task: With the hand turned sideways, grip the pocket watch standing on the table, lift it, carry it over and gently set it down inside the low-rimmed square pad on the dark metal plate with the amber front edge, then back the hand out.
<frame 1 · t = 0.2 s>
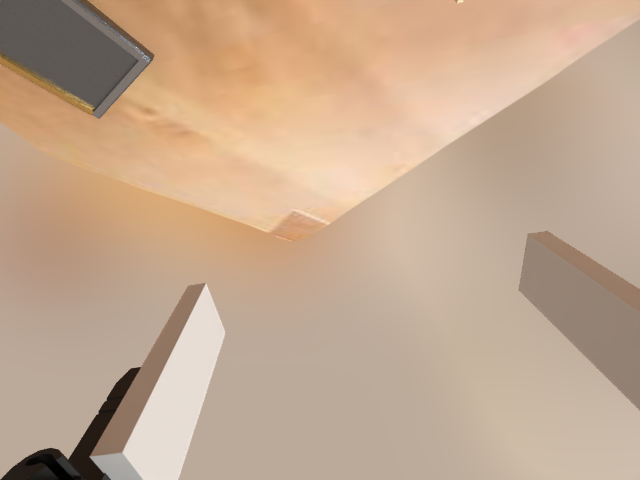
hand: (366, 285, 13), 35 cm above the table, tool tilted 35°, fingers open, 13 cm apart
pocket plate: (66, 46, 36), on the table
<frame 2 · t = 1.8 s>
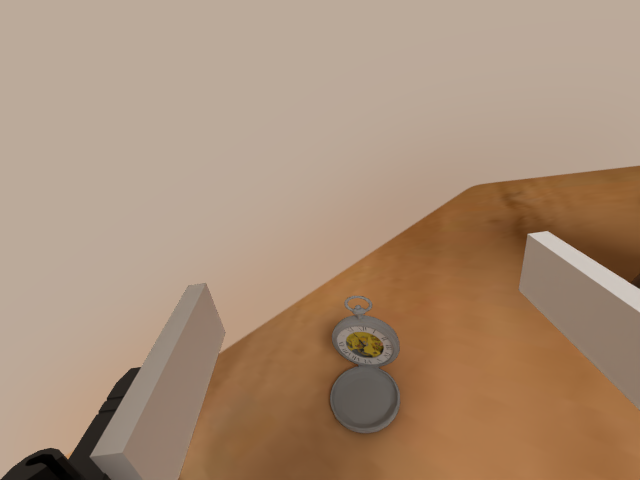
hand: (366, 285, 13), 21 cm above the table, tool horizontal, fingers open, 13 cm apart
pocket watch: (369, 391, 32), on the table
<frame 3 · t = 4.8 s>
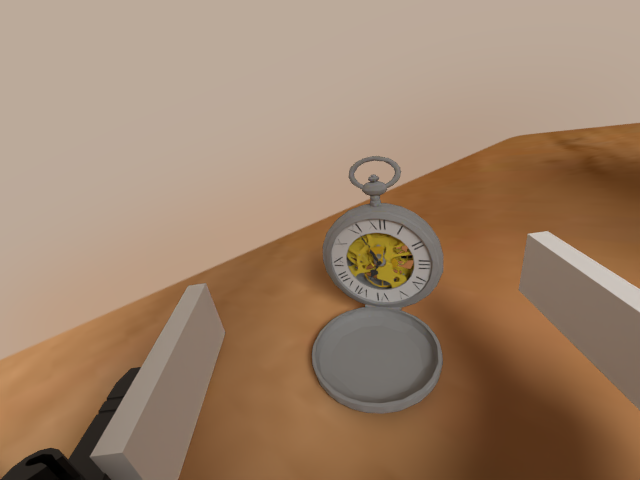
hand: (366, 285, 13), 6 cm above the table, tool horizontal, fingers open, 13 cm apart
pocket watch: (382, 347, 18), on the table
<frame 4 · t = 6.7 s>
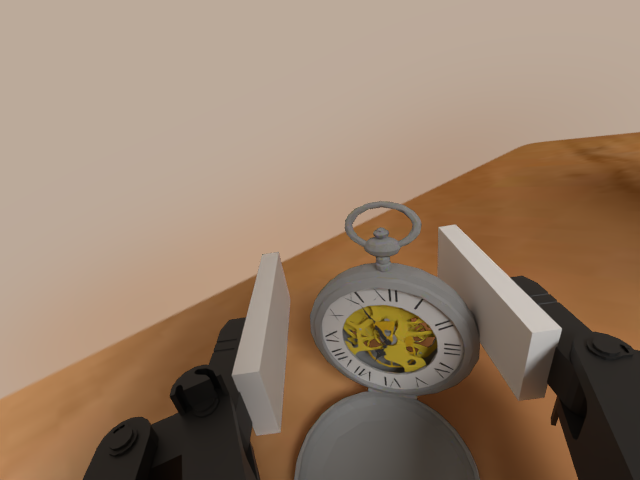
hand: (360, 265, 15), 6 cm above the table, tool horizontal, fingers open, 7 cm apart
pocket watch: (392, 456, 13), on the table, touching gripper
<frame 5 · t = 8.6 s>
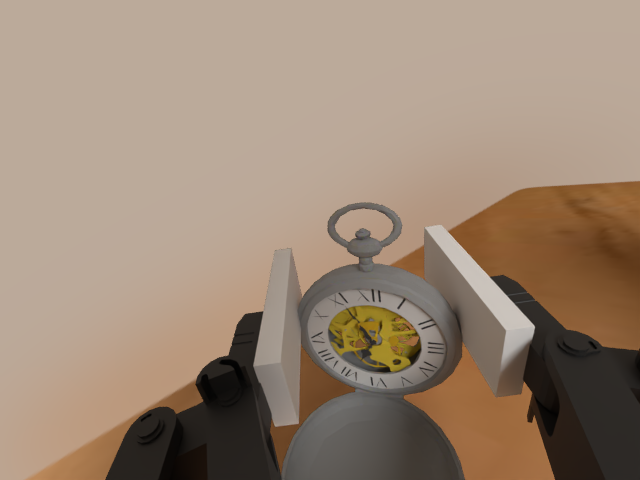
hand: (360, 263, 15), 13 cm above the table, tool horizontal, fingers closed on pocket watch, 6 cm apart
pocket watch: (379, 456, 13), point 7 cm above the table, touching gripper
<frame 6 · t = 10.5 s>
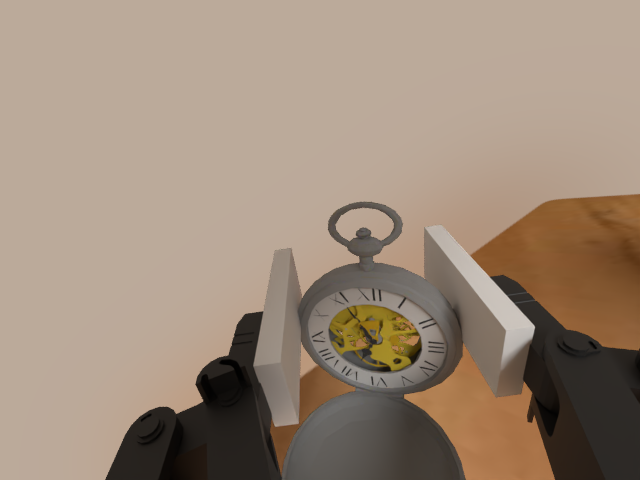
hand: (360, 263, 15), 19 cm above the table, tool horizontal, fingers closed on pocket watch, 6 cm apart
pocket watch: (379, 455, 13), point 13 cm above the table, touching gripper
when the fingers open (7 cm above the table, at t = 13.9 s): pocket watch stays where it is, resting on pocket plate.
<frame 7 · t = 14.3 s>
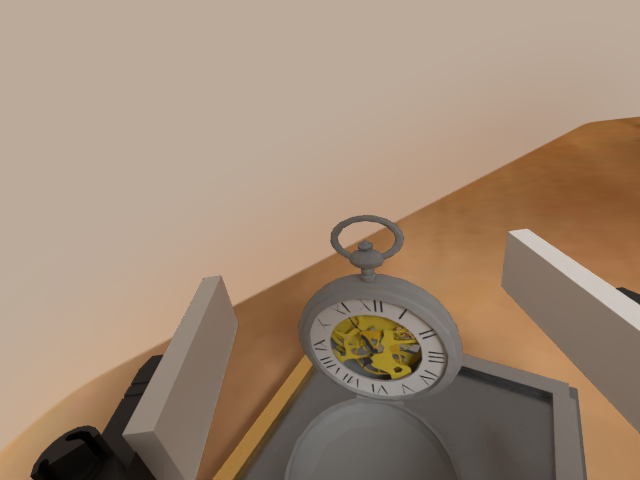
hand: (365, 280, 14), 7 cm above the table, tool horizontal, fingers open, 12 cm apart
pocket plate: (394, 471, 14), on the table
pocket watch: (379, 462, 13), point 1 cm above the table, touching pocket plate
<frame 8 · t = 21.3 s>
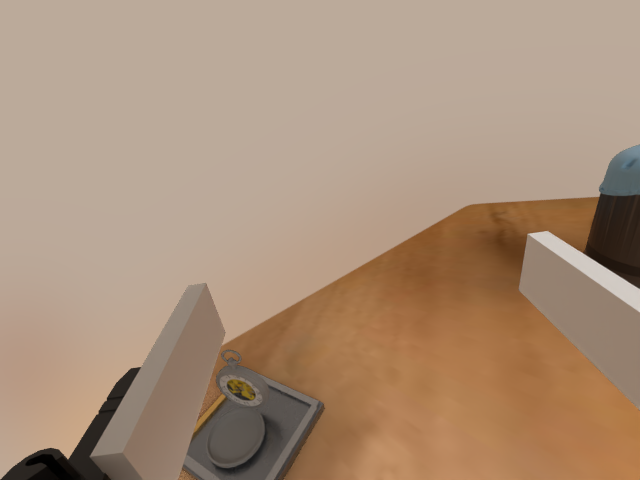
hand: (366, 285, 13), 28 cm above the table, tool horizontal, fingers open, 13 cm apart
pocket plate: (250, 433, 37), on the table
pocket watch: (244, 430, 37), point 1 cm above the table, touching pocket plate
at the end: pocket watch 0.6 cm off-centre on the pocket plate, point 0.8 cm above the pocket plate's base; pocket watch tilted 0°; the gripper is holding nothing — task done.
